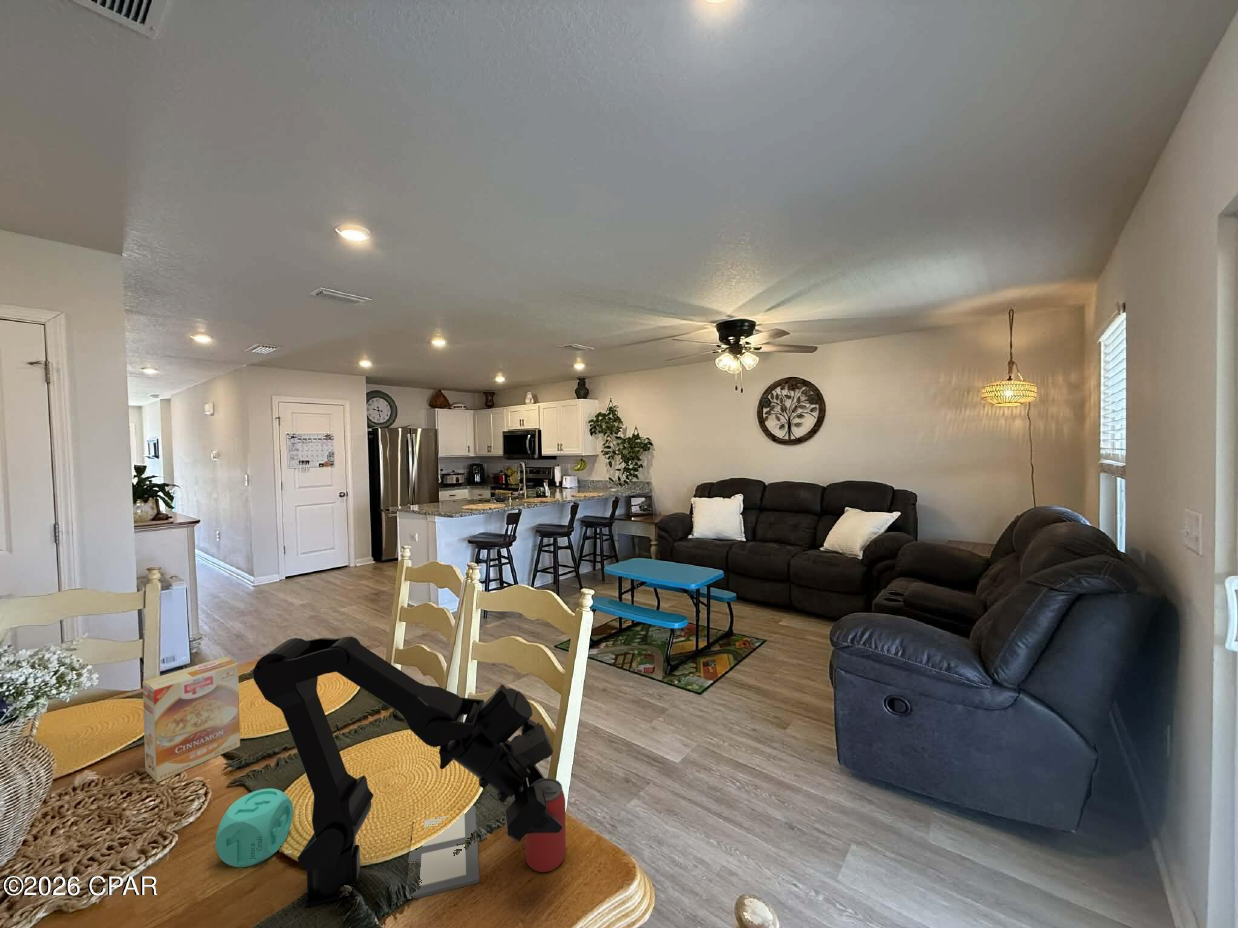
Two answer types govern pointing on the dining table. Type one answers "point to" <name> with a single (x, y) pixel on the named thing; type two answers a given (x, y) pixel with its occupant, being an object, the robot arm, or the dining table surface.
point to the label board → (448, 857)
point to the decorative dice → (254, 827)
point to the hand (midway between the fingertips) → (555, 809)
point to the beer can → (548, 847)
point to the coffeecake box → (190, 717)
